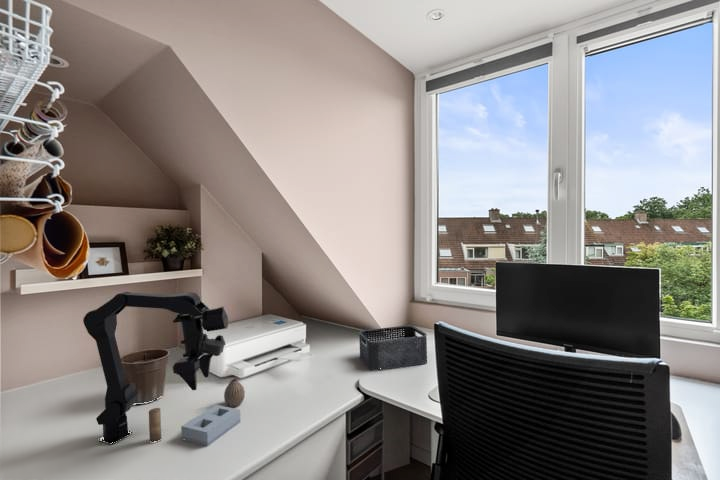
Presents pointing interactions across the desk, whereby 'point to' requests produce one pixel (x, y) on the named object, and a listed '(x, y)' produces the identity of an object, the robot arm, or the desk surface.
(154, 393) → the plant pot
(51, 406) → the desk surface
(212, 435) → the socket block
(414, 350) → the storage bin
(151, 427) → the dowel
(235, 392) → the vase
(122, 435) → the robot arm
